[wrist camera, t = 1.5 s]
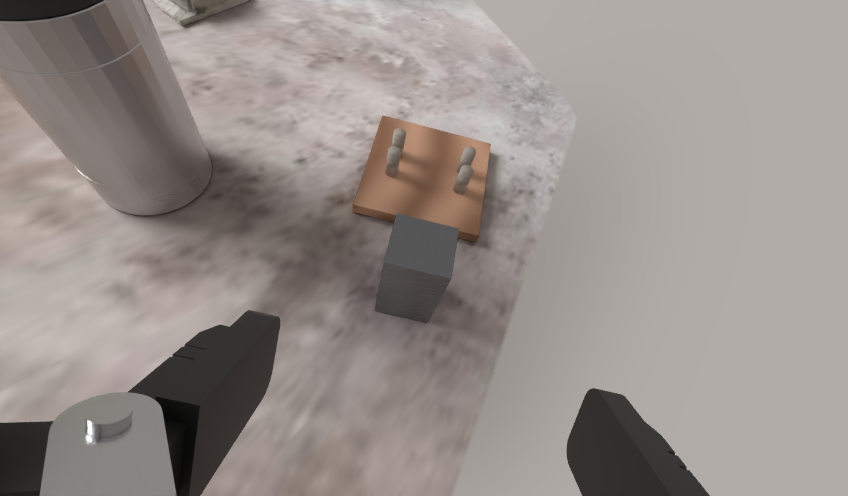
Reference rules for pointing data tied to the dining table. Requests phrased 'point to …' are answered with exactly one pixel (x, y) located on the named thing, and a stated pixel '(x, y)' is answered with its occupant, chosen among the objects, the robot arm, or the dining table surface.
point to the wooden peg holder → (424, 177)
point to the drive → (416, 267)
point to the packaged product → (194, 8)
